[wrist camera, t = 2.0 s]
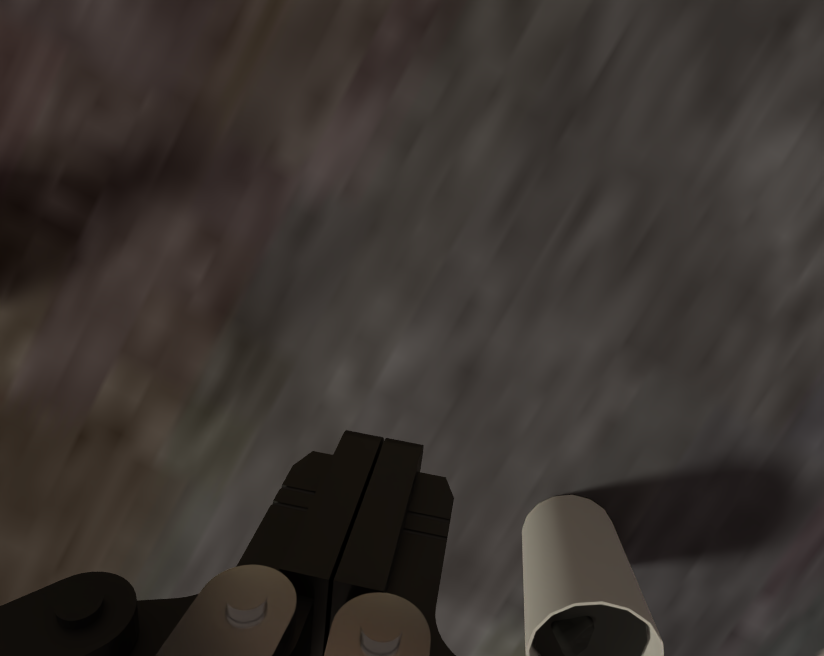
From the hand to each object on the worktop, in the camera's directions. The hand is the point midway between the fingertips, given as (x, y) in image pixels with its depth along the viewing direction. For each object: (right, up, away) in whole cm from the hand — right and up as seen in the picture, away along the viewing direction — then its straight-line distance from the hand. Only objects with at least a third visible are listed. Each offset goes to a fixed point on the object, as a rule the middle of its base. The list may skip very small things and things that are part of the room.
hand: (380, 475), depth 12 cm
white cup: (+11, -10, +29) cm, 32 cm away
